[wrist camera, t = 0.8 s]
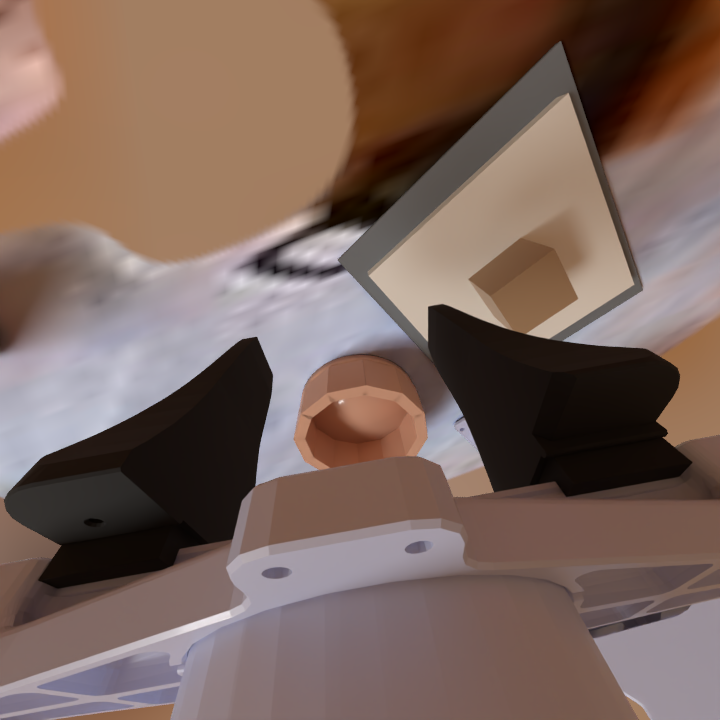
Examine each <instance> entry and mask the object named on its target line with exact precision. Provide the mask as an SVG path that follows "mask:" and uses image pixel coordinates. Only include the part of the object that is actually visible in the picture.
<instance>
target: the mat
mask: <svg viewBox="0 0 720 720" xmlns="http://www.w3.org/2000/svg"><path fill="white" fill-rule="evenodd" d="M567 93H569V96H570V98H571V101H572V104H573V107H574V110H575V113H576V116H577V119H578V122H579V125H580V128H581V131H582V133H583V136H584V139H585V142H586V145H587V148H588V151H589V154H590V157H591V160H592V163H593V166H594V168H595V171H596V174H597V177H598V180H599V183H600V186H601V189H602V192H603V195H604V198H605V200H606V203H607V206H608V209H609V212H610V215H611V218H612V221H613V224H614V227H615V230H616V233H617V235H618V238H619V241H620V244H621V247H622V250H623V253H624V256H625V259H626V262H627V265H628V268H629V270H630V273H631V276H632V279H633V282H634V285H633V286H631V287H630V288H628V289H627V290H625V291H623V292H622V293H620V294H619V295H617V296H616V297H614V298H613V299H611V300H609V301H608V302H606V303H605V304H603V305H602V306H600V307H598V308H597V309H595V310H594V311H592V312H591V313H589V314H587V315H586V316H584V317H583V318H581V319H580V320H578V321H576V322H575V323H573V324H572V325H570V326H569V327H567V328H566V329H564V330H562V331H561V332H559V333H558V334H556V335H555V336H553V337H551V338H550V339H552V340H557V341H563V340H564V339H566V338H567V337H569V336H571V335H572V334H574V333H575V332H577V331H579V330H580V329H582V328H583V327H585V326H587V325H588V324H590V323H591V322H593V321H595V320H596V319H598V318H599V317H601V316H603V315H604V314H606V313H607V312H609V311H611V310H612V309H614V308H615V307H617V306H619V305H620V304H622V303H623V302H625V301H626V300H628V299H630V298H631V297H633V296H634V295H636V294H638V293H639V292H641V291H642V290H643V289H642V286H641V283H640V280H639V277H638V274H637V271H636V268H635V265H634V262H633V259H632V256H631V253H630V250H629V247H628V244H627V240H626V237H625V234H624V231H623V228H622V225H621V222H620V219H619V216H618V213H617V210H616V207H615V204H614V201H613V198H612V195H611V192H610V189H609V186H608V183H607V180H606V177H605V174H604V171H603V167H602V164H601V161H600V158H599V155H598V152H597V149H596V146H595V143H594V140H593V137H592V134H591V131H590V128H589V125H588V122H587V119H586V116H585V113H584V110H583V107H582V104H581V101H580V98H579V94H578V91H577V88H576V85H575V82H574V79H573V76H572V73H571V70H570V67H569V64H568V61H567V58H566V55H565V52H564V49H563V46H562V43H561V41H560V42H558V43H557V44H555V45H554V46H553V47H552V48H551V49H550V50H549V51H548V52H547V53H546V54H545V55H544V56H543V57H542V58H541V59H540V60H539V61H538V62H537V63H536V64H535V65H534V66H533V67H532V68H531V69H530V70H529V71H528V72H527V73H526V74H525V75H524V76H523V77H522V78H521V79H520V80H519V81H518V82H517V83H516V84H515V85H514V86H513V87H512V88H511V89H510V90H509V91H508V92H507V93H506V94H505V95H504V96H503V97H502V98H501V99H500V100H499V101H498V102H497V103H496V104H495V105H494V106H493V107H492V108H491V109H490V110H489V111H488V112H487V113H486V114H484V115H483V116H482V117H481V118H480V119H479V120H478V121H477V122H476V123H475V124H474V125H473V126H472V127H471V128H470V129H469V130H468V131H467V132H466V133H465V134H464V135H463V136H462V137H461V138H460V139H459V140H458V141H457V142H456V143H455V144H454V145H453V146H452V147H451V148H450V149H449V150H448V151H447V152H446V153H445V154H444V155H443V156H442V157H441V158H440V159H439V160H438V161H437V162H436V163H435V164H434V165H433V166H432V167H431V168H430V169H429V170H428V171H427V172H426V173H425V174H424V175H423V176H422V177H421V178H420V179H419V180H418V181H417V182H416V183H415V184H414V185H413V186H412V187H411V188H410V189H409V190H408V191H407V192H406V193H405V194H404V195H403V196H401V197H400V198H399V199H398V200H397V201H396V202H395V203H394V204H393V205H392V206H391V207H390V208H389V209H388V210H387V211H386V212H385V213H384V214H383V215H382V216H381V217H380V218H379V219H378V220H377V221H376V222H375V223H374V224H373V225H372V226H371V227H370V228H369V229H368V230H367V231H366V232H365V233H364V234H363V235H362V236H361V237H360V238H359V239H358V240H357V241H356V242H355V243H354V244H353V245H352V246H351V247H350V248H349V249H348V250H347V251H346V252H345V253H344V254H343V255H342V256H341V257H340V258H339V259H338V261H339V262H340V263H341V264H342V265H343V266H344V268H345V269H346V270H347V271H348V272H349V273H350V274H351V275H352V276H353V277H354V278H355V279H356V280H357V282H358V283H359V284H360V285H361V286H362V287H363V288H364V289H365V290H366V291H367V292H368V293H369V294H370V295H371V297H372V298H373V299H374V300H375V301H376V302H377V303H378V304H379V305H380V306H381V307H382V308H383V309H384V310H385V312H386V313H387V314H388V315H389V316H390V317H391V318H392V319H393V320H394V321H395V322H396V323H397V324H398V326H399V327H400V328H401V329H402V330H403V331H404V332H405V333H406V334H407V335H408V336H409V337H410V338H411V339H412V341H413V342H414V343H415V344H416V345H417V346H418V347H419V348H420V349H421V350H422V351H423V352H424V353H425V355H426V356H427V357H428V358H429V359H430V360H431V361H432V362H433V359H432V357H431V354H430V352H429V349H428V341H427V340H426V339H425V338H424V337H423V336H422V335H421V334H420V332H419V331H418V330H417V329H416V328H415V327H414V326H413V325H412V324H411V322H410V321H409V320H408V319H407V318H406V317H405V316H404V315H403V314H402V312H401V311H400V310H399V309H398V308H397V307H396V306H395V305H394V303H393V302H392V301H391V300H390V299H389V298H388V297H387V296H386V295H385V293H384V292H383V291H382V290H381V289H380V288H379V287H378V286H377V285H376V283H375V282H374V281H373V280H372V279H371V278H370V277H369V275H368V271H369V270H370V269H371V268H372V267H373V266H374V265H375V264H377V263H378V262H379V261H380V260H381V259H382V258H383V257H384V256H385V255H386V254H387V253H388V252H390V251H391V250H392V249H393V248H394V247H395V246H396V245H397V244H398V243H399V242H400V241H401V240H403V239H404V238H405V237H406V236H407V235H408V234H409V233H410V232H411V231H412V230H413V229H414V228H416V227H417V226H418V225H419V224H420V223H421V222H422V221H423V220H424V219H425V218H426V217H427V216H429V215H430V214H431V213H432V212H433V211H434V210H435V209H436V208H437V207H438V206H439V205H440V204H442V203H443V202H444V201H445V200H446V199H447V198H448V197H449V196H450V195H451V194H452V193H453V192H455V191H456V190H457V189H458V188H459V187H460V186H461V185H462V184H463V183H464V182H465V181H466V180H468V179H469V178H470V177H471V176H472V175H473V174H474V173H475V172H476V171H477V170H478V169H479V168H481V167H482V166H483V165H484V164H485V163H486V162H487V161H488V160H489V159H490V158H491V157H492V156H494V155H495V154H496V153H497V152H498V151H499V150H500V149H501V148H502V147H503V146H504V145H505V144H507V143H508V142H509V141H510V140H511V139H512V138H513V137H514V136H515V135H516V134H517V133H518V132H520V131H521V130H522V129H523V128H524V127H525V126H526V125H527V124H528V123H529V122H530V121H531V120H533V119H534V118H535V117H536V116H537V115H538V114H539V113H540V112H541V111H542V110H543V109H544V108H546V107H547V106H548V105H549V104H550V103H551V102H552V101H553V100H554V99H555V98H557V97H559V96H562V95H564V94H567ZM433 363H434V362H433Z"/></svg>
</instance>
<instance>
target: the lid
mask: <svg viewBox="0 0 720 720" xmlns="http://www.w3.org/2000/svg"><path fill="white" fill-rule="evenodd" d="M368 275H369V277H370V278H371V279H372V280H373V281H374V282H375V283H376V285H377V286H378V287H379V288H380V289H381V290H382V291H383V292H384V293H385V295H386V296H387V297H388V298H389V299H390V300H391V301H392V302H393V303H394V305H395V306H396V307H397V308H398V309H399V310H400V311H401V312H402V314H403V315H404V316H405V317H406V318H407V319H408V320H409V321H410V322H411V324H412V325H413V326H414V327H415V328H416V329H417V330H418V331H419V332H420V334H421V335H422V336H423V337H424V338H425V339H426V340H427V341H428V306H433V305H439V304H445V305H448V306H451V307H453V308H455V309H458V310H460V311H462V312H465V313H467V314H469V315H472V316H474V317H476V318H479V319H481V320H484V321H486V322H489V323H492V324H495V325H497V326H500V327H503V328H506V329H509V330H513V331H517V332H520V333H524V334H528V335H532V336H537V337H541V338H547V339H550V338H551V337H553V336H555V335H556V334H558V333H559V332H561V331H562V330H564V329H566V328H567V327H569V326H570V325H572V324H573V323H575V322H576V321H578V320H580V319H581V318H583V317H584V316H586V315H587V314H589V313H591V312H592V311H594V310H595V309H597V308H598V307H600V306H602V305H603V304H605V303H606V302H608V301H609V300H611V299H613V298H614V297H616V296H617V295H619V294H620V293H622V292H623V291H625V290H627V289H628V288H630V287H631V286H633V285H634V282H633V279H632V276H631V273H630V270H629V268H628V265H627V262H626V259H625V256H624V253H623V250H622V247H621V244H620V241H619V238H618V235H617V233H616V230H615V227H614V224H613V221H612V218H611V215H610V212H609V209H608V206H607V203H606V200H605V198H604V195H603V192H602V189H601V186H600V183H599V180H598V177H597V174H596V171H595V168H594V166H593V163H592V160H591V157H590V154H589V151H588V148H587V145H586V142H585V139H584V136H583V133H582V131H581V128H580V125H579V122H578V119H577V116H576V113H575V110H574V107H573V104H572V101H571V98H570V96H569V93H567V94H564V95H562V96H559V97H557V98H555V99H554V100H553V101H552V102H551V103H550V104H549V105H548V106H547V107H546V108H544V109H543V110H542V111H541V112H540V113H539V114H538V115H537V116H536V117H535V118H534V119H533V120H531V121H530V122H529V123H528V124H527V125H526V126H525V127H524V128H523V129H522V130H521V131H520V132H518V133H517V134H516V135H515V136H514V137H513V138H512V139H511V140H510V141H509V142H508V143H507V144H505V145H504V146H503V147H502V148H501V149H500V150H499V151H498V152H497V153H496V154H495V155H494V156H492V157H491V158H490V159H489V160H488V161H487V162H486V163H485V164H484V165H483V166H482V167H481V168H479V169H478V170H477V171H476V172H475V173H474V174H473V175H472V176H471V177H470V178H469V179H468V180H466V181H465V182H464V183H463V184H462V185H461V186H460V187H459V188H458V189H457V190H456V191H455V192H453V193H452V194H451V195H450V196H449V197H448V198H447V199H446V200H445V201H444V202H443V203H442V204H440V205H439V206H438V207H437V208H436V209H435V210H434V211H433V212H432V213H431V214H430V215H429V216H427V217H426V218H425V219H424V220H423V221H422V222H421V223H420V224H419V225H418V226H417V227H416V228H414V229H413V230H412V231H411V232H410V233H409V234H408V235H407V236H406V237H405V238H404V239H403V240H401V241H400V242H399V243H398V244H397V245H396V246H395V247H394V248H393V249H392V250H391V251H390V252H388V253H387V254H386V255H385V256H384V257H383V258H382V259H381V260H380V261H379V262H378V263H377V264H375V265H374V266H373V267H372V268H371V269H370V270H369V271H368Z"/></svg>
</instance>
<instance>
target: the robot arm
mask: <svg viewBox="0 0 720 720" xmlns="http://www.w3.org/2000/svg"><path fill="white" fill-rule="evenodd" d="M428 349H429V352H430V354H431V357H432V359H433V362H434V364H435V366H436V368H437V370H438V372H439V373H440V375H441V377H442V378H443V380H444V382H445V384H446V385H447V387H448V389H449V390H450V392H451V394H452V395H453V397H454V399H455V400H456V402H457V404H458V406H459V408H460V410H461V411H462V413H463V416H464V418H462V419H461V420H459V421H457V422H456V423H455V424H454V427H455V429H456V430H457V431H458V432H459V433H460V434H461V435H462V436H463V437H464V438H465V439H466V440H467V441H468V442H469V443H471V444H472V445H473V446H474V447H475V448H476V449H477V450H478V451H479V453H480V456H481V459H482V461H483V464H484V466H485V469H486V471H487V474H488V477H489V479H490V482H491V485H492V488H493V490H494V493H488V494H482V495H478V496H472V497H453V495H452V493H451V490H450V488H449V485H448V483H447V480H446V477H445V475H444V473H443V471H442V468H441V466H440V465H438V464H436V463H433V462H431V461H428V460H426V459H424V458H421V457H418V456H403V457H389V458H384V459H378V460H373V461H367V462H361V463H356V464H350V465H345V466H339V467H333V468H328V469H322V470H317V471H311V472H306V473H300V474H294V475H289V476H283V477H279V478H276V479H273V480H271V481H268V482H265V483H262V484H259V485H258V486H256V487H255V484H256V473H257V463H258V455H259V447H260V442H261V437H262V433H263V429H264V425H265V420H266V416H267V412H268V408H269V404H270V399H271V394H272V382H273V374H272V372H271V369H270V367H269V364H268V362H267V360H266V357H265V355H264V353H263V350H262V348H261V345H260V343H259V341H258V338H257V337H253V338H247V339H242V340H241V341H239V342H238V343H236V344H235V345H234V346H232V347H231V348H230V349H229V350H228V351H226V352H225V353H224V354H223V355H222V356H221V357H219V358H218V359H217V360H216V361H215V362H214V363H212V364H211V365H210V366H209V367H207V368H206V369H205V370H204V371H202V372H201V373H200V374H199V375H197V376H196V377H195V378H193V379H192V380H191V381H190V382H188V383H187V384H185V385H184V386H183V387H181V388H180V389H178V390H177V391H175V392H174V393H172V394H171V395H169V396H168V397H166V398H165V399H163V400H161V401H160V402H158V403H156V404H154V405H153V406H151V407H149V408H147V409H146V410H144V411H142V412H140V413H139V414H137V415H135V416H133V417H131V418H129V419H127V420H125V421H123V422H121V423H119V424H117V425H115V426H113V427H111V428H109V429H107V430H105V431H103V432H101V433H98V434H96V435H94V436H92V437H89V438H87V439H85V440H82V441H80V442H78V443H75V444H73V445H70V446H68V447H65V448H63V449H61V450H58V451H56V452H53V453H51V454H48V455H46V456H44V457H42V458H41V459H40V460H39V461H38V462H37V463H36V464H35V465H34V466H33V467H32V468H31V469H30V470H29V471H28V472H27V473H26V474H25V475H24V477H23V478H22V479H21V480H20V481H19V482H18V483H17V484H16V485H15V486H14V487H13V488H12V489H11V490H10V491H9V492H8V494H7V496H6V497H5V499H4V503H5V507H6V511H7V512H8V513H9V514H10V516H11V517H12V518H13V519H15V520H16V521H18V522H19V523H21V524H22V525H24V526H26V527H27V528H29V529H31V530H33V531H35V532H37V533H39V534H41V535H42V536H44V537H46V538H48V539H50V540H52V541H54V542H55V543H57V544H59V545H61V547H60V549H59V550H58V552H57V553H56V554H55V556H54V557H53V559H49V558H32V559H27V560H21V561H16V562H10V563H4V564H0V720H53V719H60V718H67V717H73V716H80V715H88V714H95V713H102V712H110V711H118V710H126V709H134V708H142V707H149V706H157V705H165V704H173V703H175V705H174V709H173V712H172V715H171V720H639V719H638V718H637V716H636V714H635V712H634V711H633V709H632V707H631V705H630V703H629V701H628V700H627V698H626V696H627V697H629V698H630V699H632V700H633V701H635V702H636V703H638V704H639V705H640V706H642V707H643V708H644V710H645V712H646V713H647V715H648V716H649V718H650V719H651V720H720V435H716V436H711V437H705V438H700V439H694V440H690V441H686V442H683V443H681V444H680V445H677V446H676V447H673V446H672V445H671V444H670V443H668V442H667V441H666V440H665V439H664V438H662V437H665V436H666V435H667V434H668V432H667V430H666V429H665V428H664V427H662V426H661V425H660V424H659V423H657V422H656V420H657V418H658V417H659V416H660V414H661V413H662V411H663V410H664V408H665V407H666V406H667V404H668V403H669V402H670V400H671V399H672V397H673V396H674V394H675V392H676V390H677V389H678V385H679V380H680V374H679V371H678V368H677V367H675V366H674V365H673V364H671V363H670V362H668V361H666V360H665V359H663V358H661V357H660V356H658V355H656V354H654V353H653V352H651V351H649V350H647V349H643V348H626V347H609V346H596V345H587V344H578V343H570V342H564V341H557V340H552V339H547V338H541V337H537V336H532V335H528V334H524V333H520V332H517V331H513V330H509V329H506V328H503V327H500V326H497V325H495V324H492V323H489V322H486V321H484V320H481V319H479V318H476V317H474V316H472V315H469V314H467V313H465V312H462V311H460V310H458V309H455V308H453V307H451V306H448V305H445V304H439V305H433V306H428Z"/></svg>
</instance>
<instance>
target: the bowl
mask: <svg viewBox="0 0 720 720" xmlns="http://www.w3.org/2000/svg"><path fill="white" fill-rule="evenodd" d="M427 438H428V437H427V429H426V420H425V413H424V410H423V407H422V405H421V402H420V399H419V396H418V394H417V391H416V388H415V386H414V385H413V384H412V381H411V379H410V378H409V376H408V375H407V374H406V372H405V371H404V370H403V369H401V368H400V367H399V366H398V365H396V364H395V363H393V362H391V361H389V360H387V359H384V358H381V357H377V356H372V355H351V356H345V357H341V358H337V359H335V360H333V361H330V362H328V363H326V364H325V365H323V366H322V367H320V368H319V369H317V370H316V371H315V372H314V373H313V374H312V375H311V377H310V378H309V379H308V381H307V383H306V384H305V387H304V389H303V393H302V399H301V404H300V408H299V412H298V418H297V423H296V429H295V434H294V441H295V443H296V445H297V447H298V449H299V451H300V453H301V455H302V457H303V459H304V461H305V462H307V463H309V464H310V465H312V466H314V467H315V468H317V469H319V470H322V469H328V468H333V467H339V466H345V465H350V464H356V463H361V462H367V461H373V460H378V459H384V458H389V457H403V456H416V455H417V454H418V452H419V451H420V449H421V448H422V446H423V444H424V443H425V441H426V440H427Z"/></svg>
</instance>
